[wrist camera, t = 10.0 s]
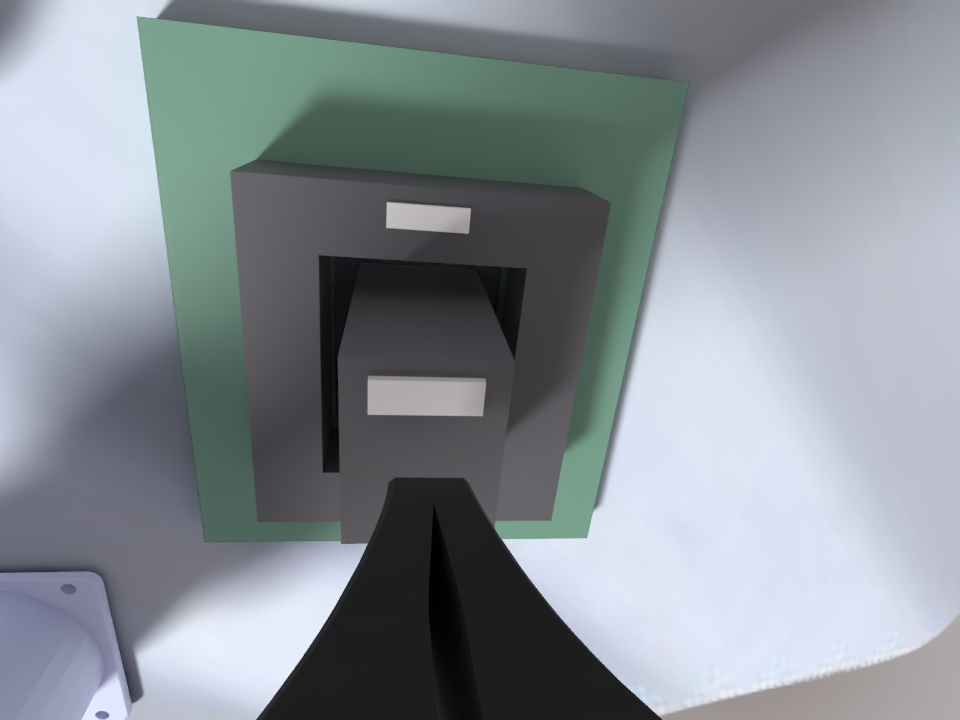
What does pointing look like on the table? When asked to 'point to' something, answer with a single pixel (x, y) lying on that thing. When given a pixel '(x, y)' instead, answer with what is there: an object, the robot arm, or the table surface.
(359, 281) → the plug
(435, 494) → the robot arm
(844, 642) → the table surface
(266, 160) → the board
